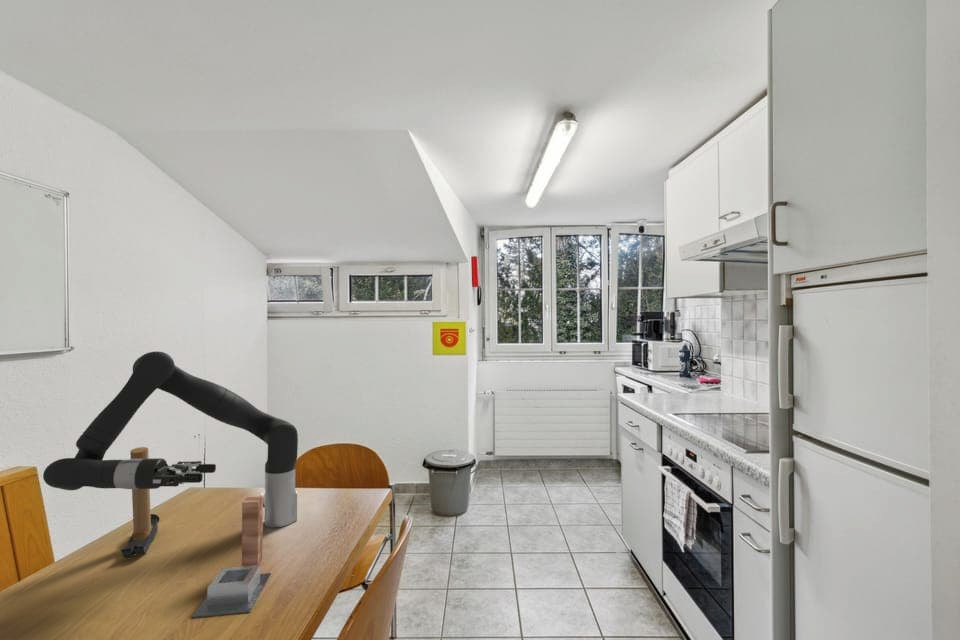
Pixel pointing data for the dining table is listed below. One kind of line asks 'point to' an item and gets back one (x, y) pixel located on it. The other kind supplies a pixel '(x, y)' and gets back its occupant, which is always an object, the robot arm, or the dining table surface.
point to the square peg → (252, 531)
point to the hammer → (141, 515)
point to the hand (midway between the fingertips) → (208, 472)
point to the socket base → (233, 605)
